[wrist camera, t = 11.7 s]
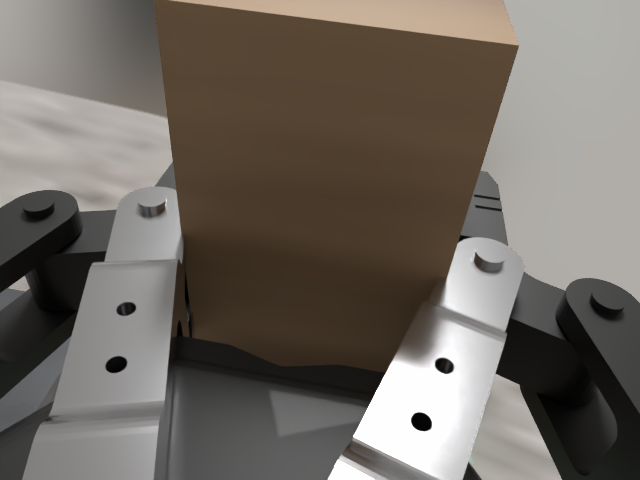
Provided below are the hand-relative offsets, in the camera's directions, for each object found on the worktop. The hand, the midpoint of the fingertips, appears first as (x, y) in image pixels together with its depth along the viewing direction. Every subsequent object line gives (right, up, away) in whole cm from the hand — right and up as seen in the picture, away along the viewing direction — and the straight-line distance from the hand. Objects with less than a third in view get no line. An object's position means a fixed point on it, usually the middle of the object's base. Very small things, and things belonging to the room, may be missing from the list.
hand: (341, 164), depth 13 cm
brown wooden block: (-1, -7, +2) cm, 8 cm away
